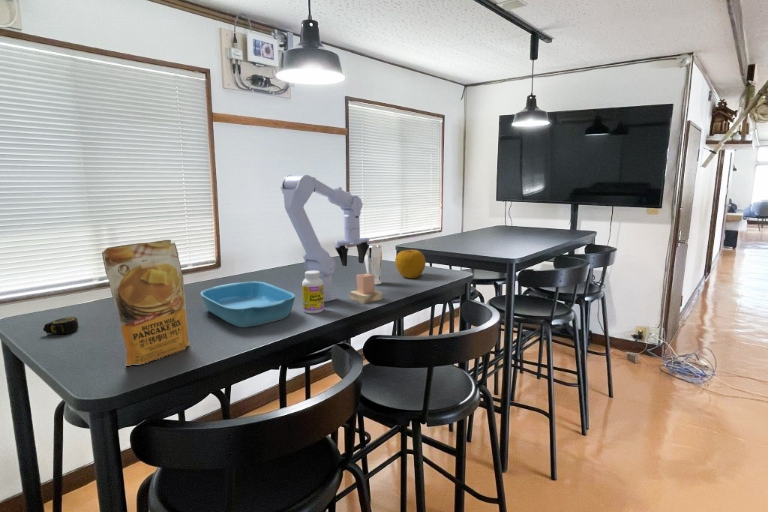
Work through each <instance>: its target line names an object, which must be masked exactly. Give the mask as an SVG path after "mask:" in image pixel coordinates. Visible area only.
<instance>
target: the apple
mask: <svg viewBox="0 0 768 512" xmlns="http://www.w3.org/2000/svg"><path fill="white" fill-rule="evenodd" d="M394 261H395V262H394V265H395V268H396V270H397V271H398V273H399V274H400V275H401V276H402V277H404V278H407V279H416V278H419V277H420V276H421V275H422V273H423V272H424V270H425V267H426V263H427V262H426V257H425V255H424V253H423V252H421V251H420V250H417V249H404V250H400V251H399V252H398V253H397V254H396V256H395V259H394Z"/></svg>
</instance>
